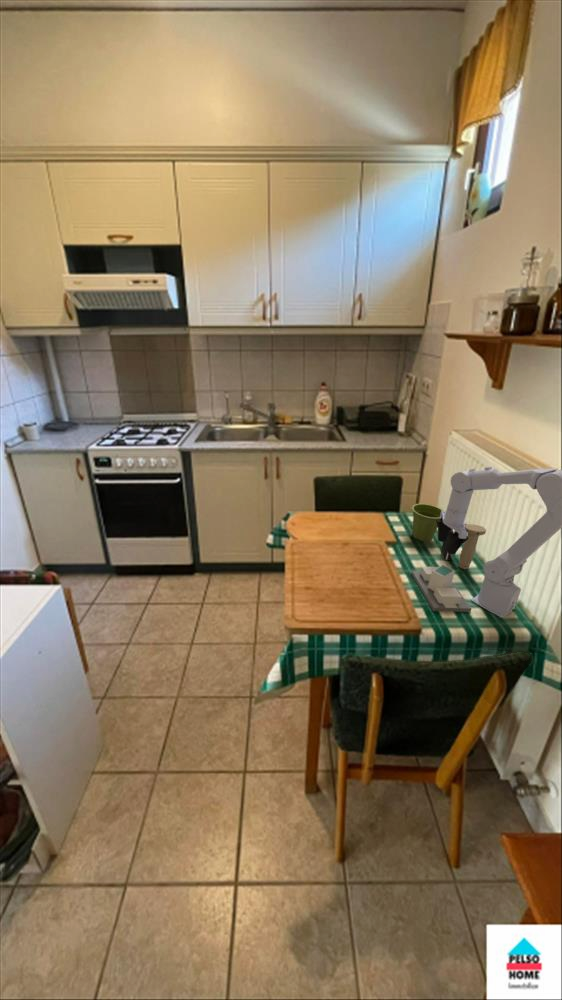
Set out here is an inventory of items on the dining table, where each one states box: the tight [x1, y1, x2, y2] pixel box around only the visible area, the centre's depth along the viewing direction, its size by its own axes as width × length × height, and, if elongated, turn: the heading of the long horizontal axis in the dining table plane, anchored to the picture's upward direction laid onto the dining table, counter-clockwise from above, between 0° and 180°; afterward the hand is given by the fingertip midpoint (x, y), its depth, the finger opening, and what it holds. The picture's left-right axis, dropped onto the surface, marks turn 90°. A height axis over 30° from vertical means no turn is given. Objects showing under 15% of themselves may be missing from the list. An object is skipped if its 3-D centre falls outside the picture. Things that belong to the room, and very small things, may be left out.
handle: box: [458, 523, 487, 570], centre depth 138 cm, size 5×6×15 cm
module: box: [428, 564, 456, 592], centre depth 125 cm, size 4×6×6 cm, turn 130°
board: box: [411, 565, 472, 613], centre depth 126 cm, size 18×11×4 cm, turn 4°
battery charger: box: [440, 529, 455, 561], centre depth 145 cm, size 7×4×11 cm, turn 169°
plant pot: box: [411, 503, 444, 542], centre depth 156 cm, size 12×12×11 cm
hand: (446, 547), depth 133 cm, fingers open, 7 cm apart
